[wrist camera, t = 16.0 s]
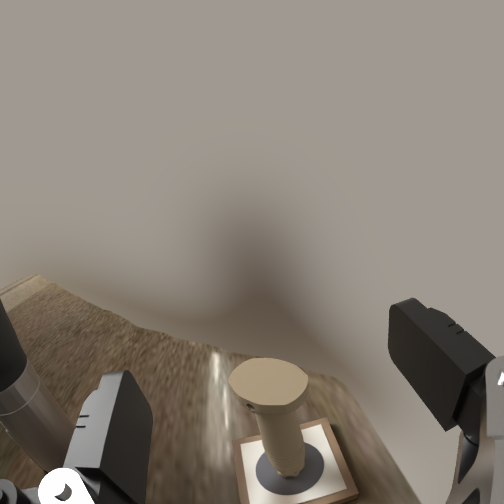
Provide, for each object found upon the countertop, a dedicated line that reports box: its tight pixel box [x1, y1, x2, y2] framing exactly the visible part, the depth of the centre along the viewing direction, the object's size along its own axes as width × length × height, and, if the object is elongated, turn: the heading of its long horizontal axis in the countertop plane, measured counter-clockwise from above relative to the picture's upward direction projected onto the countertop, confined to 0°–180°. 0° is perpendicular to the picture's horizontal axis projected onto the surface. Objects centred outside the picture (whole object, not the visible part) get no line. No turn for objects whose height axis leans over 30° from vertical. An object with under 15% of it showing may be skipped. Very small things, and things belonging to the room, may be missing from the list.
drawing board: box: [232, 417, 359, 504], centre depth 29 cm, size 12×12×2 cm
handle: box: [228, 358, 309, 478], centre depth 25 cm, size 5×6×15 cm
